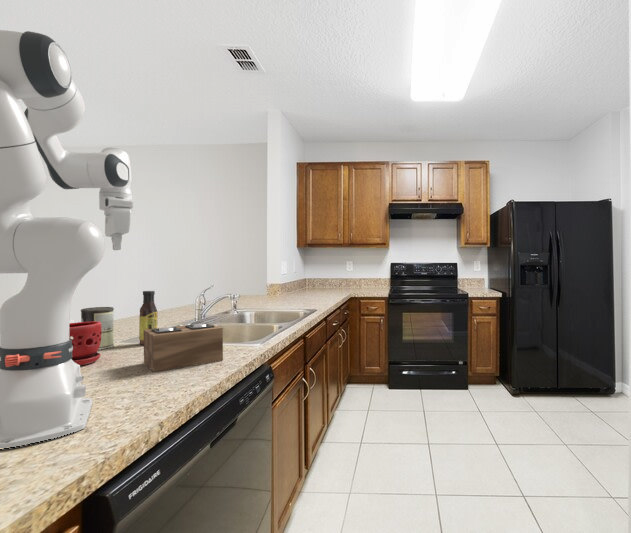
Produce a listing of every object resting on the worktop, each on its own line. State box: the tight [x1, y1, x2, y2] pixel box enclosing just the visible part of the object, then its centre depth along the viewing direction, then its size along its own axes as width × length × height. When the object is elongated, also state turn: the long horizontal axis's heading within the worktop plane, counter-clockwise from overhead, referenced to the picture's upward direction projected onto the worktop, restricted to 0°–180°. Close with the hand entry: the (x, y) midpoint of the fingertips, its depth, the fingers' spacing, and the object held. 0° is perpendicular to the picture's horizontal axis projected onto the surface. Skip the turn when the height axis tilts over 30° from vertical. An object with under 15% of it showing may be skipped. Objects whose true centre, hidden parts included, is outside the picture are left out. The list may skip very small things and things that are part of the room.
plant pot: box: [69, 321, 102, 366], centre depth 115 cm, size 13×13×12 cm
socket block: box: [143, 322, 224, 373], centre depth 115 cm, size 12×20×10 cm, turn 127°
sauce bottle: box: [138, 290, 159, 346], centre depth 142 cm, size 7×6×20 cm
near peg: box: [158, 326, 174, 331], centre depth 112 cm, size 4×4×10 cm
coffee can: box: [80, 306, 115, 351], centre depth 136 cm, size 10×10×14 cm
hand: (116, 250), depth 115 cm, fingers closed
